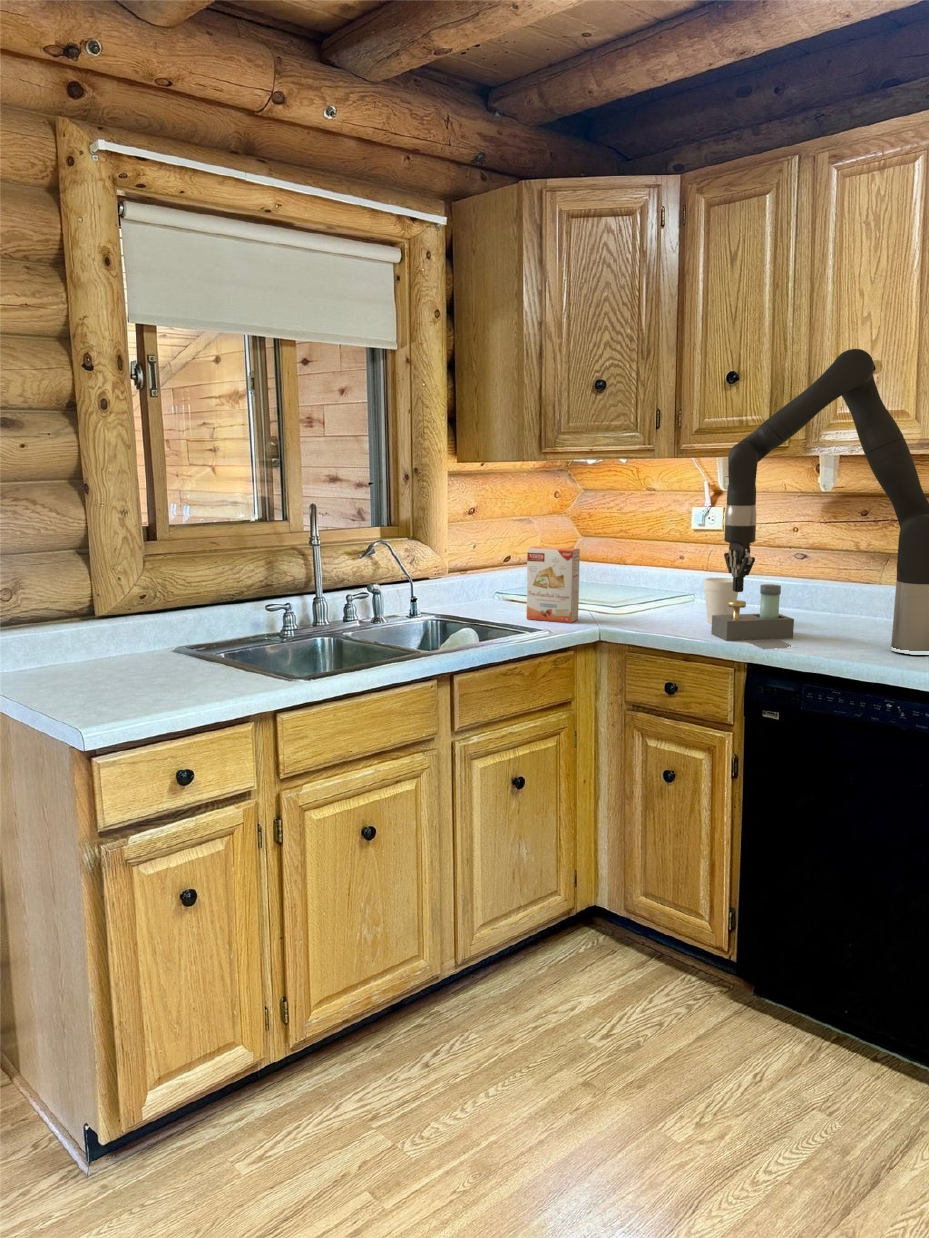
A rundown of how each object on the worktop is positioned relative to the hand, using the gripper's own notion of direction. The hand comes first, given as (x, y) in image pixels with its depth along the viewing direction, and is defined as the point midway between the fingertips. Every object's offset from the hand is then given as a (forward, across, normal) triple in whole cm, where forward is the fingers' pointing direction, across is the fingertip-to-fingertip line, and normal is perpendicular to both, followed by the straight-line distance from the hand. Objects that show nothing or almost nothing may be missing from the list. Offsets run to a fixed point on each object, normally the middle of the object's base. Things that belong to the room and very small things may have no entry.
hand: (737, 591), depth 243 cm
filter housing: (+13, 0, -4) cm, 14 cm away
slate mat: (+13, -10, -4) cm, 17 cm away
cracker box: (+12, +37, +38) cm, 55 cm away
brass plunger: (+12, 0, 0) cm, 12 cm away
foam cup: (+13, +19, -4) cm, 24 cm away
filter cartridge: (+12, 0, -9) cm, 15 cm away
